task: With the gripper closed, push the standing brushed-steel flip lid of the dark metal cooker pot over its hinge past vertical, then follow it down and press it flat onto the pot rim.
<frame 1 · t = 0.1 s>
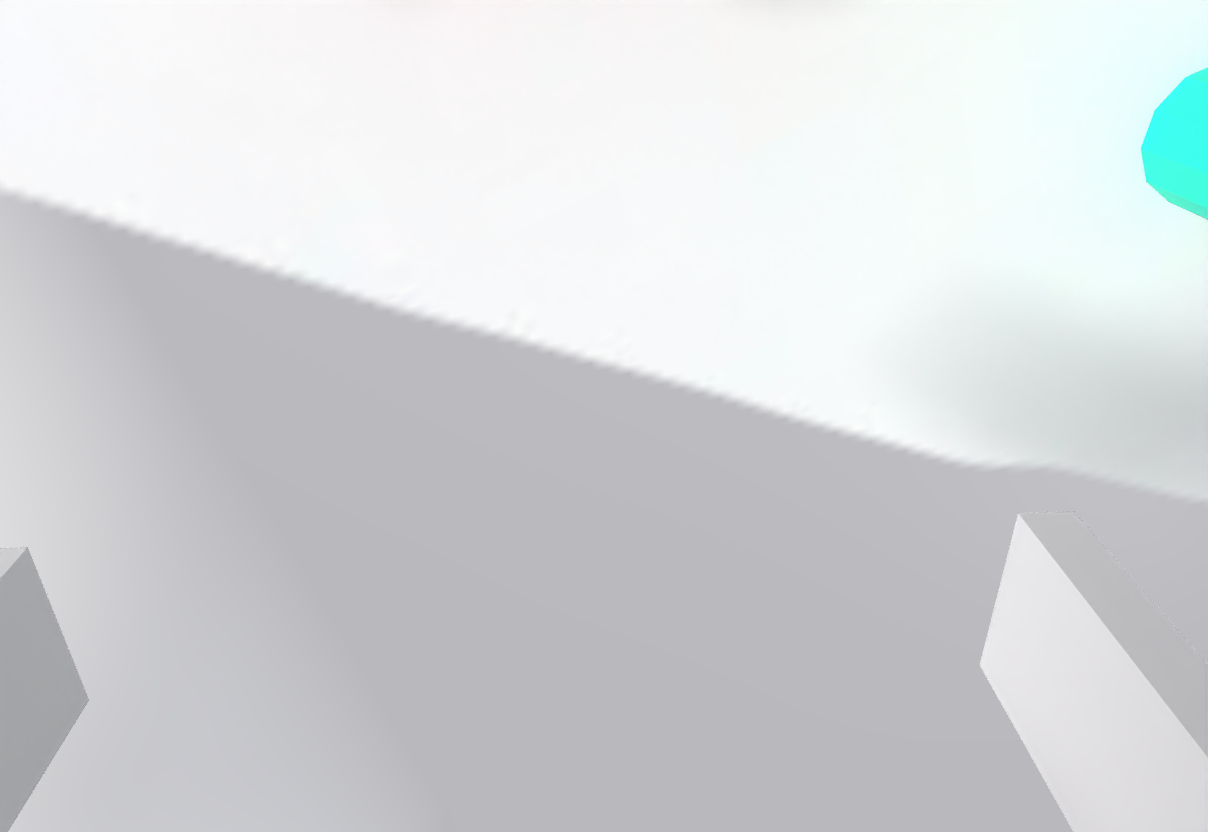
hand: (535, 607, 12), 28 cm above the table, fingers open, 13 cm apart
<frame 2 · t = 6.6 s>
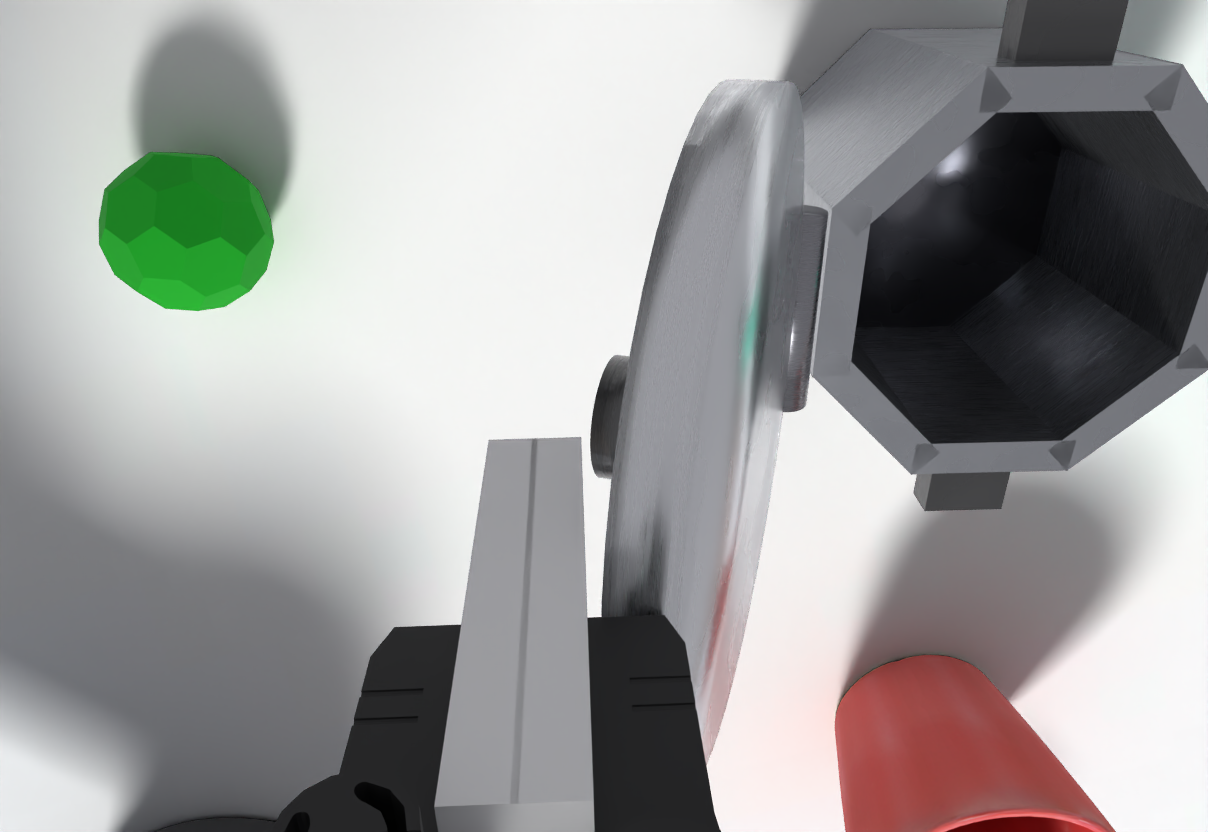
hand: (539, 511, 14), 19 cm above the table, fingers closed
flower pot: (910, 709, 43), on the table
pot: (913, 200, 31), on the table
polyhedron: (216, 209, 30), on the table
lid: (698, 417, 17), point 15 cm above the table, hinge at 109.7°, touching gripper
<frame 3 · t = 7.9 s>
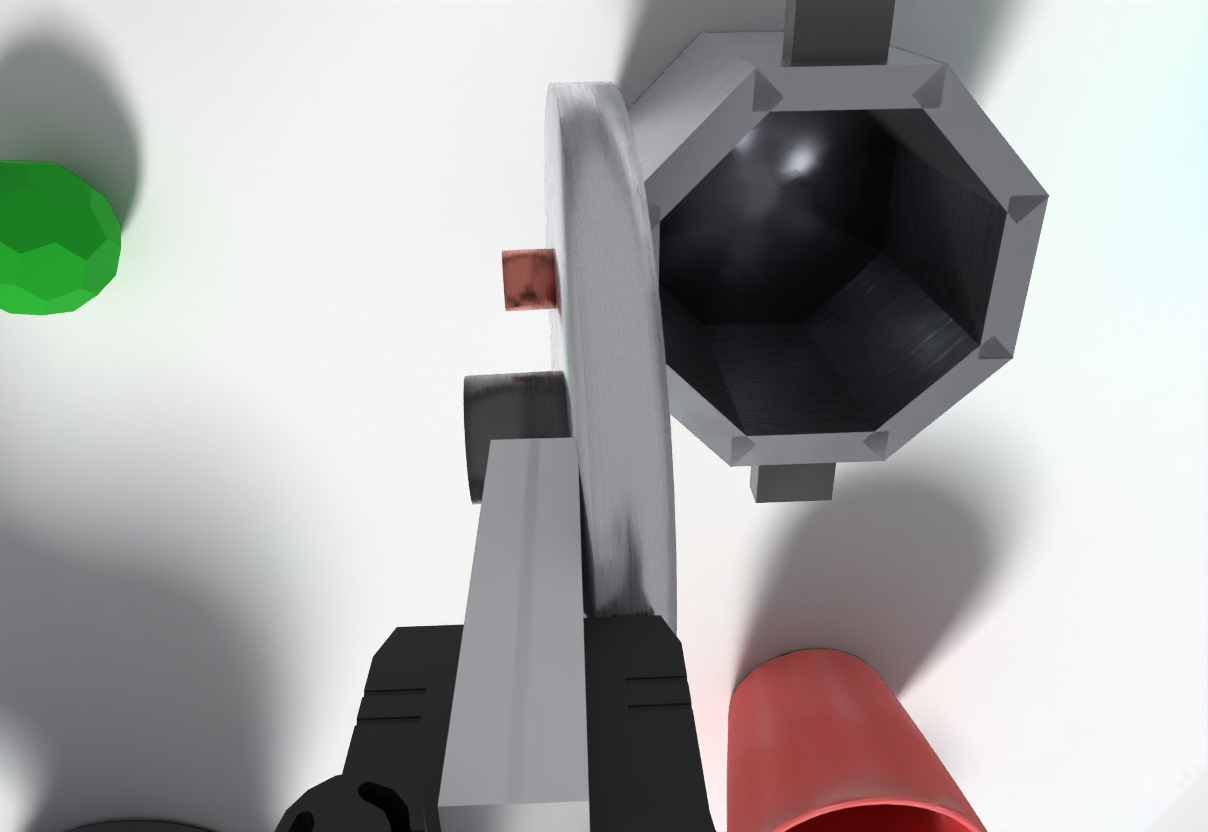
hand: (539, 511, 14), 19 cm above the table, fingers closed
flower pot: (803, 703, 44), on the table
pot: (758, 199, 32), on the table
polyhedron: (71, 215, 31), on the table
lid: (556, 423, 17), point 16 cm above the table, hinge at 86.8°, touching gripper
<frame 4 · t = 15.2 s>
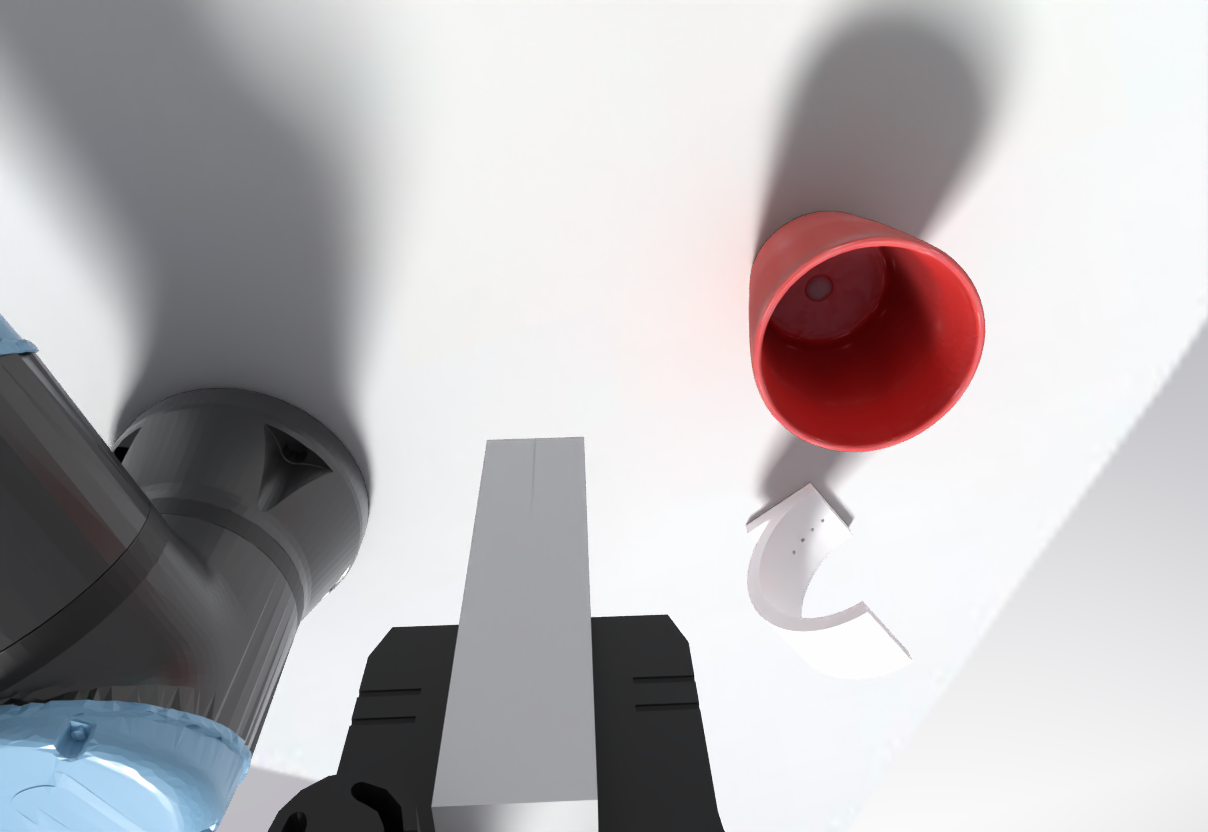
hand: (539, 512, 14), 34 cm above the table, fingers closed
flower pot: (816, 278, 49), on the table
headphone stand: (790, 529, 58), on the table
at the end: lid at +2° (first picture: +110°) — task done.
